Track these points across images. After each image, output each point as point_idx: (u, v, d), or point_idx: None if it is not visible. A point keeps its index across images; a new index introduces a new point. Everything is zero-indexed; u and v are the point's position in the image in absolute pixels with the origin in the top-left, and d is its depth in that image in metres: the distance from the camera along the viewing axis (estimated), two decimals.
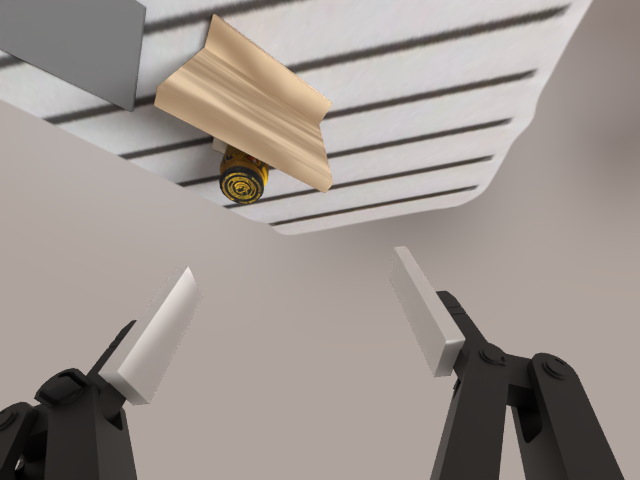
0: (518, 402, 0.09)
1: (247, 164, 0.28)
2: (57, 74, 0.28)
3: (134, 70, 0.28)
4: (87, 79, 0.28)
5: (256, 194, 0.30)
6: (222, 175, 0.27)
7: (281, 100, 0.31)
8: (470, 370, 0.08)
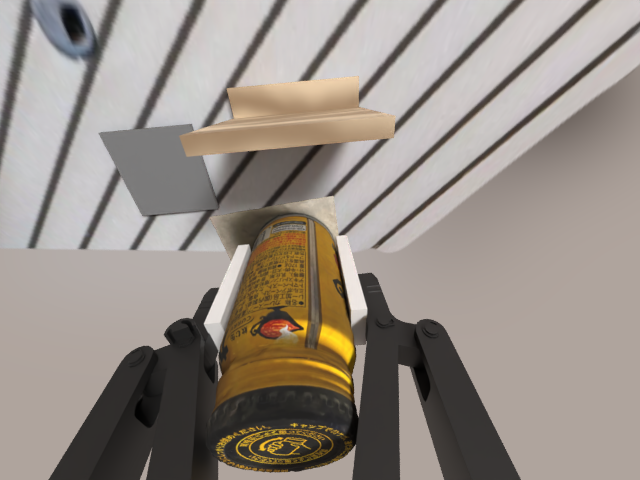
0: (407, 360, 0.10)
1: (260, 367, 0.08)
2: (171, 211, 0.37)
3: (205, 175, 0.34)
4: (185, 203, 0.36)
5: (340, 444, 0.08)
6: None
7: (310, 111, 0.30)
8: (370, 339, 0.10)
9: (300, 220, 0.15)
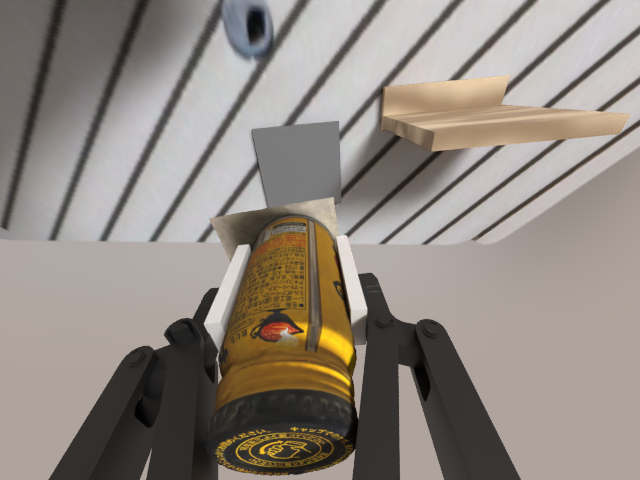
0: (407, 360, 0.10)
1: (260, 370, 0.08)
2: None
3: (338, 169, 0.36)
4: (312, 197, 0.38)
5: (340, 447, 0.08)
6: None
7: (458, 109, 0.31)
8: (370, 339, 0.10)
9: (300, 221, 0.15)
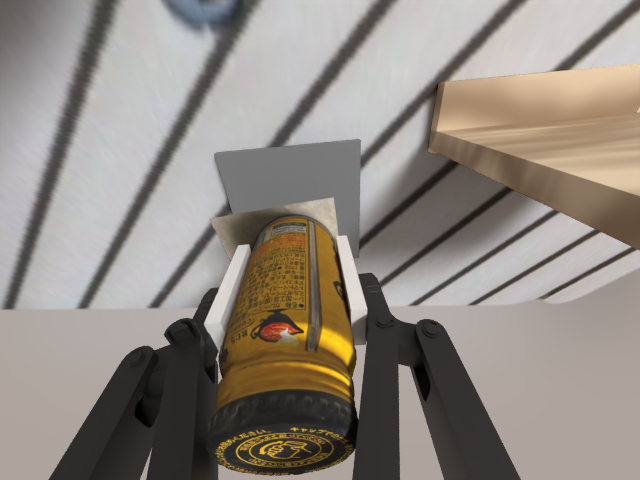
0: (407, 360, 0.10)
1: (260, 370, 0.08)
2: None
3: (357, 213, 0.23)
4: None
5: (340, 447, 0.08)
6: None
7: (565, 120, 0.18)
8: (370, 339, 0.10)
9: (300, 221, 0.15)
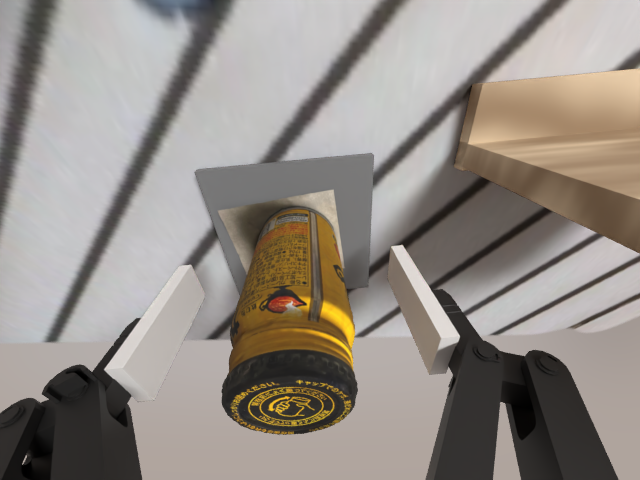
0: (512, 398, 0.09)
1: (269, 335, 0.09)
2: None
3: (367, 238, 0.19)
4: None
5: (340, 404, 0.09)
6: None
7: (629, 131, 0.15)
8: (464, 367, 0.08)
9: (302, 212, 0.16)
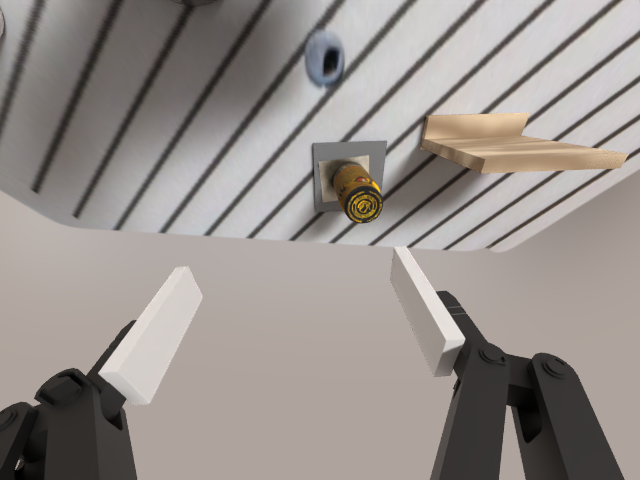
0: (518, 402, 0.09)
1: (359, 184, 0.31)
2: (340, 209, 0.44)
3: (381, 181, 0.42)
4: None
5: (378, 205, 0.31)
6: (345, 203, 0.31)
7: (486, 137, 0.38)
8: (470, 370, 0.08)
9: (355, 164, 0.39)
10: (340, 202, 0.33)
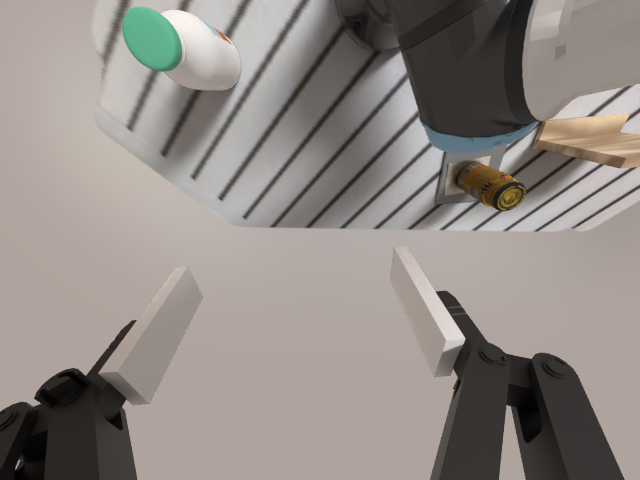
0: (518, 402, 0.09)
1: (507, 181, 0.40)
2: (457, 201, 0.53)
3: None
4: (470, 195, 0.53)
5: (522, 196, 0.40)
6: (496, 196, 0.40)
7: (591, 135, 0.46)
8: (470, 370, 0.08)
9: (480, 163, 0.48)
10: (483, 195, 0.43)
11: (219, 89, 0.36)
